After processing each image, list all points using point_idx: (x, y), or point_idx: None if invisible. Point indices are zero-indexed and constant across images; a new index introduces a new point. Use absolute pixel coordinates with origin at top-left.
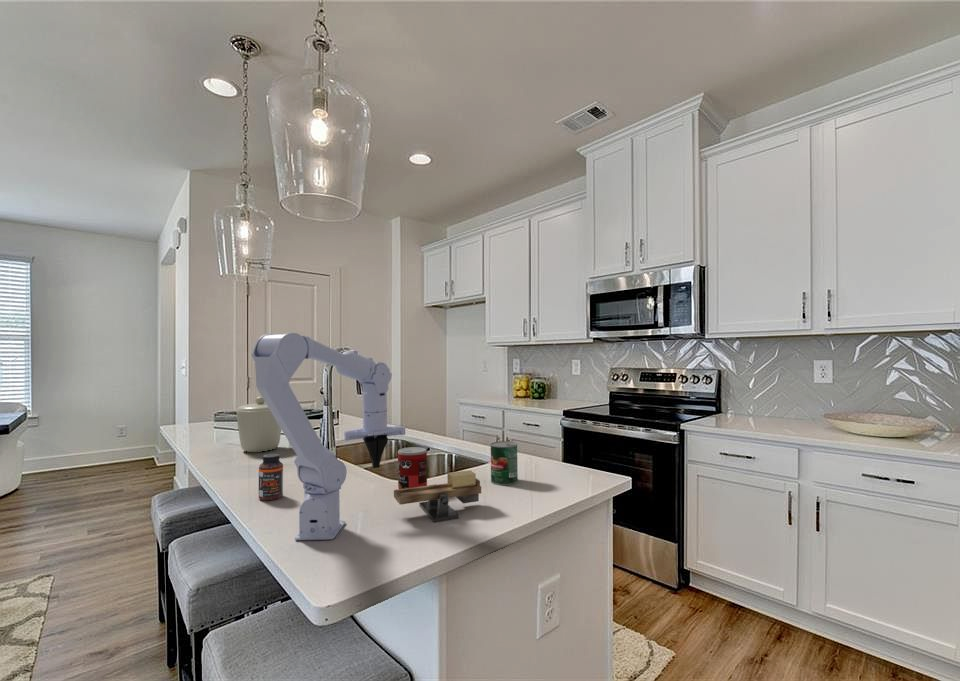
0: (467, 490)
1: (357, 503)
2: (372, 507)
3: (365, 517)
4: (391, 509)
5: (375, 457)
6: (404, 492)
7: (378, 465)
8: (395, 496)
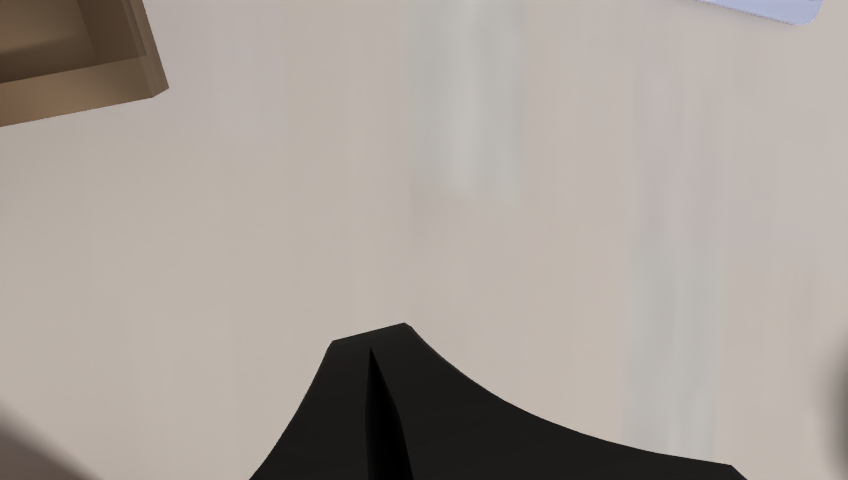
0: None
1: (486, 364)
2: (378, 264)
3: (427, 56)
4: (227, 190)
5: (405, 384)
6: (28, 66)
7: (342, 347)
8: (137, 7)
